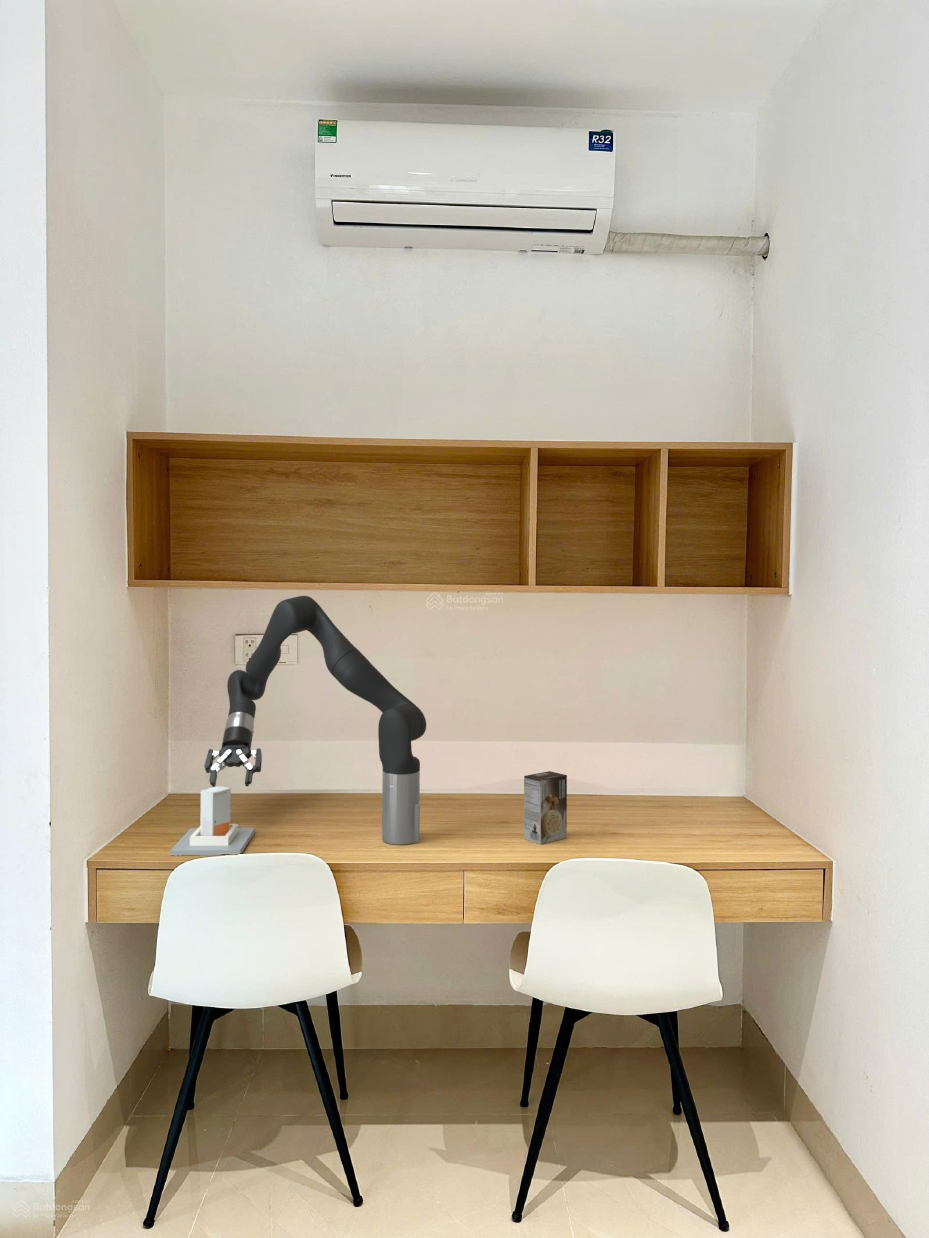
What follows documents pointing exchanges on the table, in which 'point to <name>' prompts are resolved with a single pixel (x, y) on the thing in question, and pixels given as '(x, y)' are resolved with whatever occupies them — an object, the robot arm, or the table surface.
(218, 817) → the skincare box
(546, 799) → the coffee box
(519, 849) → the table surface
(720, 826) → the table surface
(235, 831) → the board
